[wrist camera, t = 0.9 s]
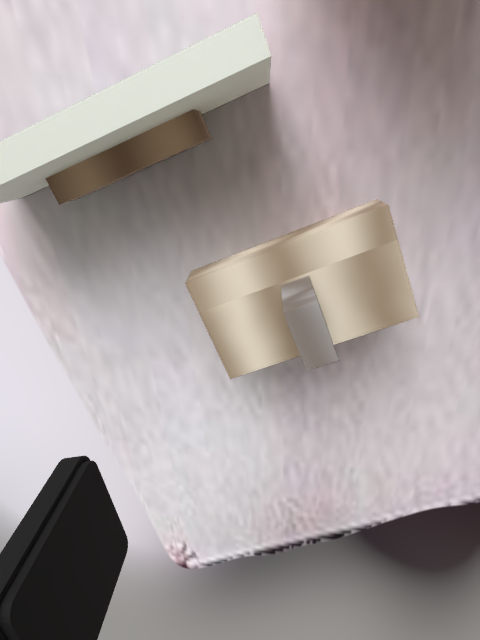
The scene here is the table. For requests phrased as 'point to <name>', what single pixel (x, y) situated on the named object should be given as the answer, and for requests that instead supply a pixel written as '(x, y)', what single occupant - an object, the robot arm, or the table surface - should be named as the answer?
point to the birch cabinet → (305, 291)
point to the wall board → (137, 106)
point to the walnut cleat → (130, 157)
